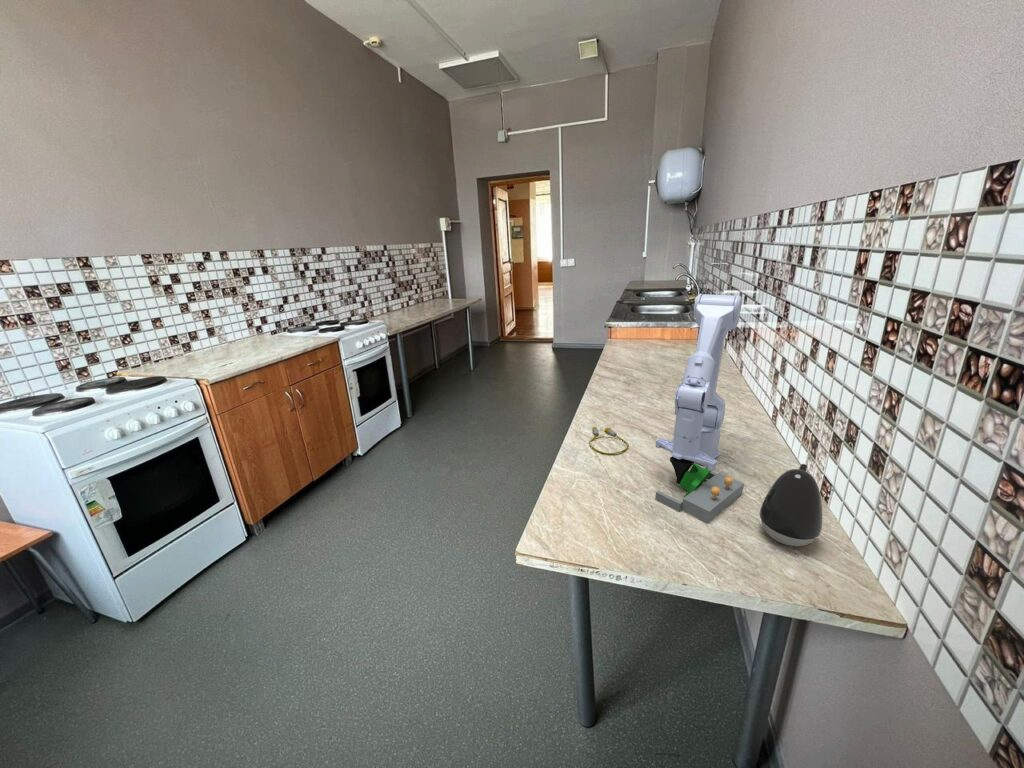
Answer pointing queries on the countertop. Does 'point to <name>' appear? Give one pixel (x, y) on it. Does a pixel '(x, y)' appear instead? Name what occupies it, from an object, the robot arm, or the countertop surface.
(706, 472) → the pipe clamp
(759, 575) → the countertop surface
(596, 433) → the extension cord
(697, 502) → the pegged forked bracket
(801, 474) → the black rounded dome
